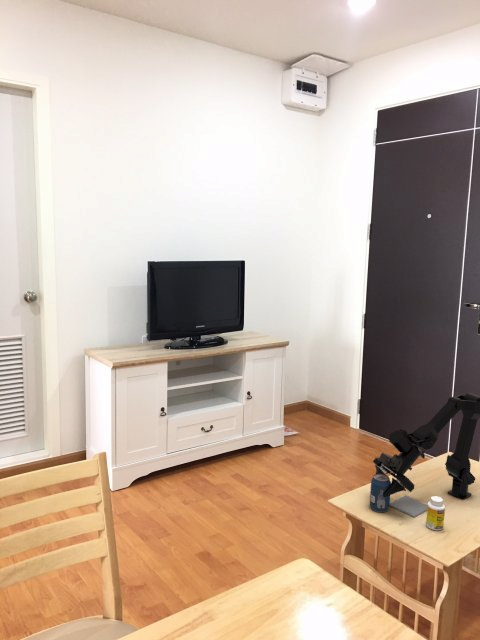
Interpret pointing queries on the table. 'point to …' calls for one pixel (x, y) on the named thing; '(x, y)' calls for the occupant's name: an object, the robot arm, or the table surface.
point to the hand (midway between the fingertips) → (377, 491)
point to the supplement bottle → (435, 513)
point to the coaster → (409, 506)
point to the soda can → (379, 493)
